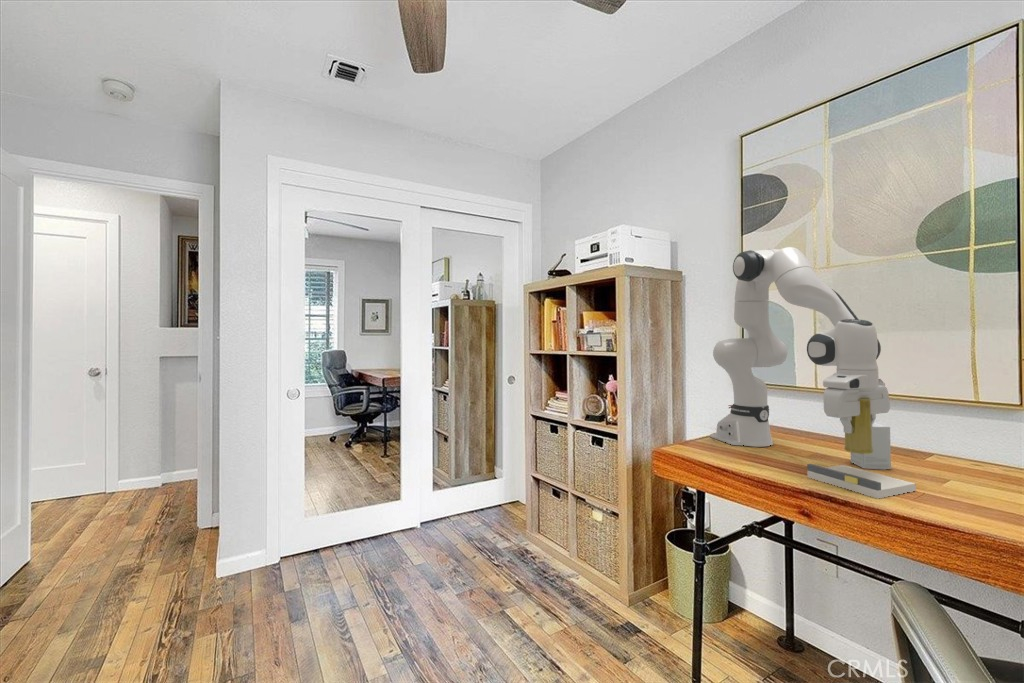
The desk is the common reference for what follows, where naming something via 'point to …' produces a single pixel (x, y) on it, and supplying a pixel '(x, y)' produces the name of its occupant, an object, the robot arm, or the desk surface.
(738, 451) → the desk surface
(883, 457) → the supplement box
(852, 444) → the vase
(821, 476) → the shelf board
